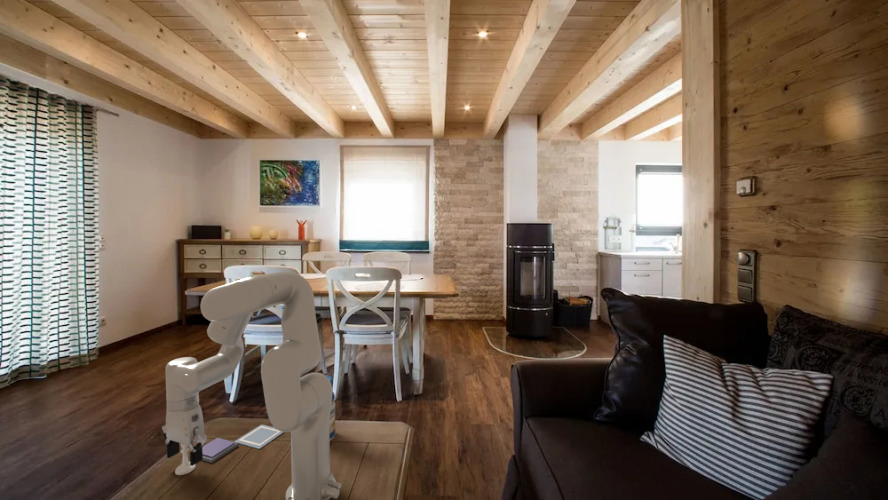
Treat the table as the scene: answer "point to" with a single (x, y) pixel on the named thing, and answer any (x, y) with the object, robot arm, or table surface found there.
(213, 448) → the ink pad
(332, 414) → the beverage bottle
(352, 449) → the table surface
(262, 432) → the pale blue flat square
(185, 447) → the chess piece
